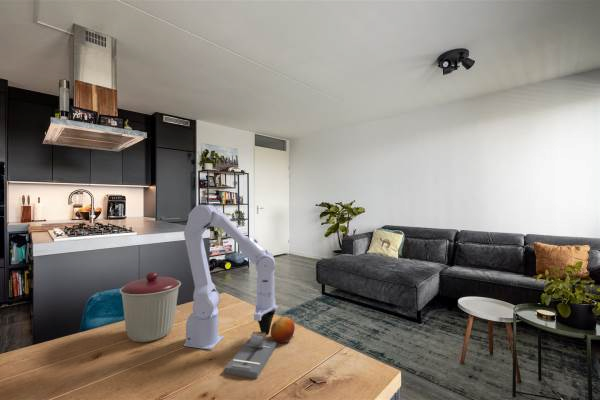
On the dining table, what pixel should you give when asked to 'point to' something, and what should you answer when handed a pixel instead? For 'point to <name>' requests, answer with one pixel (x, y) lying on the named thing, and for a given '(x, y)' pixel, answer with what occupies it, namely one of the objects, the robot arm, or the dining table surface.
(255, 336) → the fader cap
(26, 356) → the dining table surface
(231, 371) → the board
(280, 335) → the fruit
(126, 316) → the canister
